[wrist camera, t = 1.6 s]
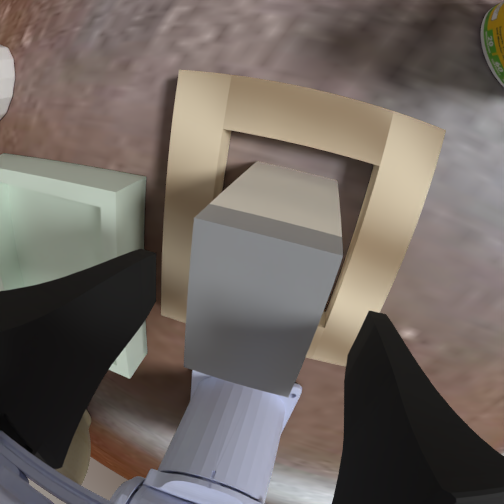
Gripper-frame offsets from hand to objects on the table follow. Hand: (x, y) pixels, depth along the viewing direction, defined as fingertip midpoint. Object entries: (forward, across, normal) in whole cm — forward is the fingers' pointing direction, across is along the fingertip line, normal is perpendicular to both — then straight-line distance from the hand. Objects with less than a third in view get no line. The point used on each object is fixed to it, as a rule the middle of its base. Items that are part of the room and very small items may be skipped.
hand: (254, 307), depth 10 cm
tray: (+7, +15, +6) cm, 18 cm away
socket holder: (+7, 0, 0) cm, 7 cm away
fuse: (+7, 0, 0) cm, 7 cm away
